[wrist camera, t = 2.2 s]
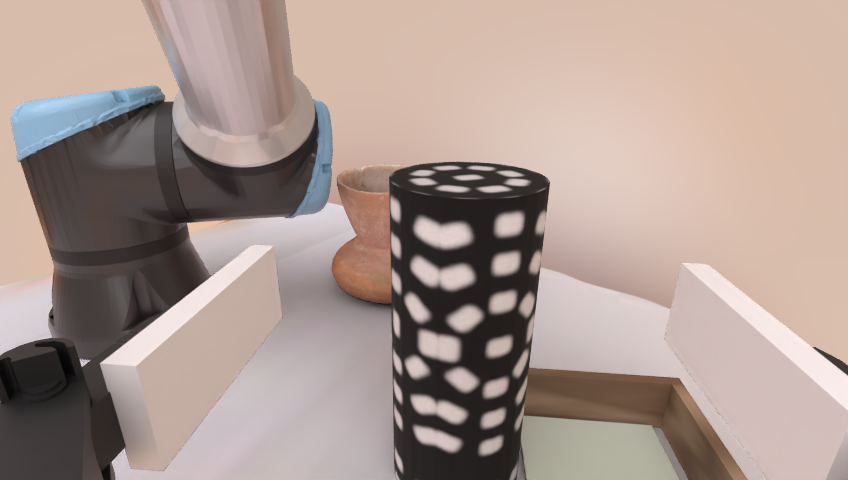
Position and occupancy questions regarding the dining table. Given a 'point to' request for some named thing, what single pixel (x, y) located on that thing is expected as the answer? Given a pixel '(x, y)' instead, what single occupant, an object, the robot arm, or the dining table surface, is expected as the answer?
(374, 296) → the ceramic jug
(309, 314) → the dining table surface
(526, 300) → the white-spotted black cylinder
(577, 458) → the tray
